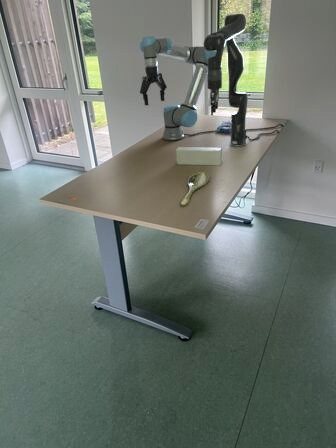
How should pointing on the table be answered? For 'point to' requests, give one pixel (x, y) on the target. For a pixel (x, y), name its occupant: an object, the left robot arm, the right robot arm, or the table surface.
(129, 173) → the table surface
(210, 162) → the bar
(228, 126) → the spray gun
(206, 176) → the spoon
